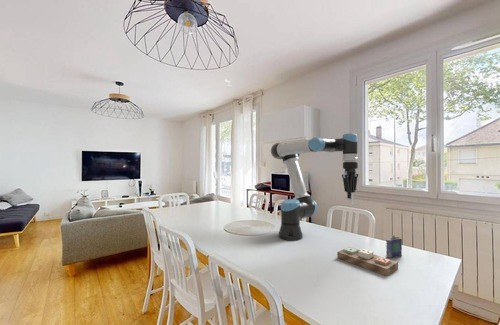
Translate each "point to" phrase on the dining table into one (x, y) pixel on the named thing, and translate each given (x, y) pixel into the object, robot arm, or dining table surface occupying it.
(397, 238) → the flask
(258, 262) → the dining table surface
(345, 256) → the board
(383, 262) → the three-pip tile
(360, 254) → the tile
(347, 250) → the tile
